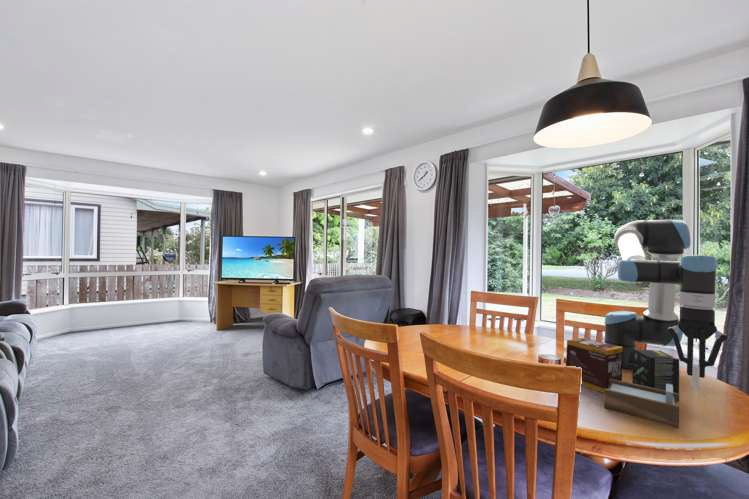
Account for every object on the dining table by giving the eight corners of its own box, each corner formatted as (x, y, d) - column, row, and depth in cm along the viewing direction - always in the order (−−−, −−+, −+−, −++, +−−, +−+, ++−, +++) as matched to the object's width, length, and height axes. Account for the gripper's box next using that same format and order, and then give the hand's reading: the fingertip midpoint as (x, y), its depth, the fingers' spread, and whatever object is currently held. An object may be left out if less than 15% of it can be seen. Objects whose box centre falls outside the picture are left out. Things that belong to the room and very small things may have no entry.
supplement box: (606, 394, 122) (607, 350, 121) (565, 379, 135) (566, 339, 135) (623, 389, 126) (624, 346, 126) (581, 375, 140) (582, 336, 140)
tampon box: (679, 402, 116) (680, 359, 116) (648, 399, 118) (649, 356, 118) (659, 389, 127) (660, 349, 126) (631, 387, 128) (632, 347, 128)
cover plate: (612, 386, 118) (612, 371, 118) (674, 400, 108) (674, 384, 108) (608, 395, 111) (609, 379, 111) (674, 411, 101) (674, 394, 101)
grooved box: (609, 395, 120) (609, 378, 120) (677, 412, 109) (678, 393, 109) (604, 408, 110) (604, 389, 110) (678, 428, 99) (679, 407, 99)
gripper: (668, 305, 103) (666, 385, 103) (730, 311, 94) (728, 397, 94) (667, 303, 108) (666, 378, 108) (726, 308, 100) (725, 390, 100)
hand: (695, 387), depth 101 cm, fingers closed
